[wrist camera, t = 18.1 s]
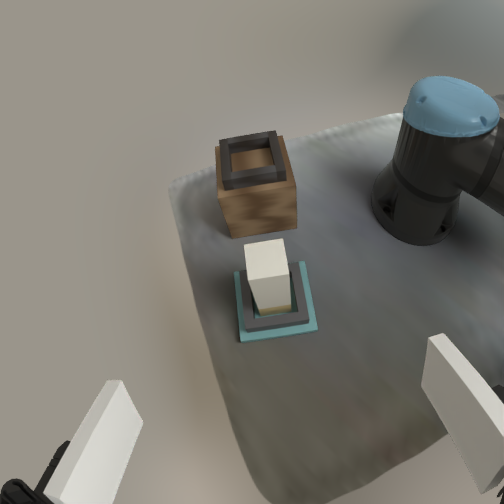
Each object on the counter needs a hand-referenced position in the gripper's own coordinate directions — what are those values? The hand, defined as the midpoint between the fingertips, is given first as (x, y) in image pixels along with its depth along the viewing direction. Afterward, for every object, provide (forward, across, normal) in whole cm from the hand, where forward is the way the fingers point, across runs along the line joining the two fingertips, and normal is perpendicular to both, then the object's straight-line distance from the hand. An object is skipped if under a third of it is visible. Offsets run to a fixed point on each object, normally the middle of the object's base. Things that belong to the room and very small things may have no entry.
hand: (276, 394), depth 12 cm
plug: (+28, 0, -9) cm, 30 cm away
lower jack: (+29, 0, -10) cm, 31 cm away
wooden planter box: (+41, 0, +1) cm, 41 cm away
